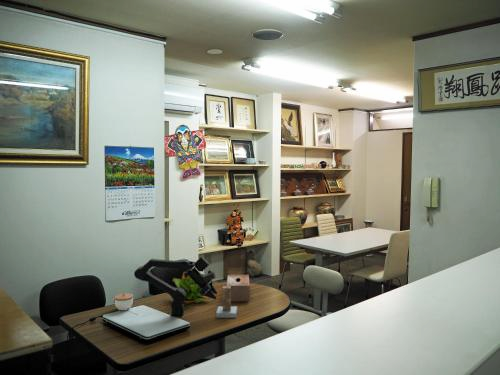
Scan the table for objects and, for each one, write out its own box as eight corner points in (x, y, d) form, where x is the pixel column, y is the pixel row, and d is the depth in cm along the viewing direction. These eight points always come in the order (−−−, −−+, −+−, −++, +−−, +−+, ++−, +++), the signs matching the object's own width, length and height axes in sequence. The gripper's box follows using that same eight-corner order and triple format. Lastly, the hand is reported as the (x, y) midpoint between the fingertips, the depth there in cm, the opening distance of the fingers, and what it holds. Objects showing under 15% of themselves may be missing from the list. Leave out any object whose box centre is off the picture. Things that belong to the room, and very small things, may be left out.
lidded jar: (127, 312, 234) (127, 296, 234) (111, 311, 236) (110, 295, 236) (136, 306, 245) (136, 291, 244) (120, 305, 247) (120, 290, 247)
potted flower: (179, 310, 238) (179, 280, 237) (160, 300, 256) (160, 272, 256) (214, 301, 254) (214, 273, 253) (194, 292, 272) (194, 266, 271)
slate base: (216, 317, 226) (216, 313, 226) (218, 310, 237) (218, 306, 237) (235, 317, 225) (235, 313, 225) (237, 310, 236) (237, 306, 236)
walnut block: (222, 311, 229) (222, 288, 228) (223, 308, 233) (222, 286, 233) (230, 311, 229) (230, 288, 228) (230, 308, 233) (230, 285, 233)
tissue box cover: (228, 289, 280) (227, 274, 279) (248, 289, 280) (248, 274, 279) (226, 301, 254) (226, 285, 253) (249, 301, 254) (249, 285, 254)
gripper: (205, 271, 220) (226, 291, 221) (208, 263, 239) (227, 281, 240) (191, 285, 220) (211, 305, 221) (194, 276, 239) (213, 294, 240)
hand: (216, 296), depth 230 cm, fingers open, 9 cm apart
